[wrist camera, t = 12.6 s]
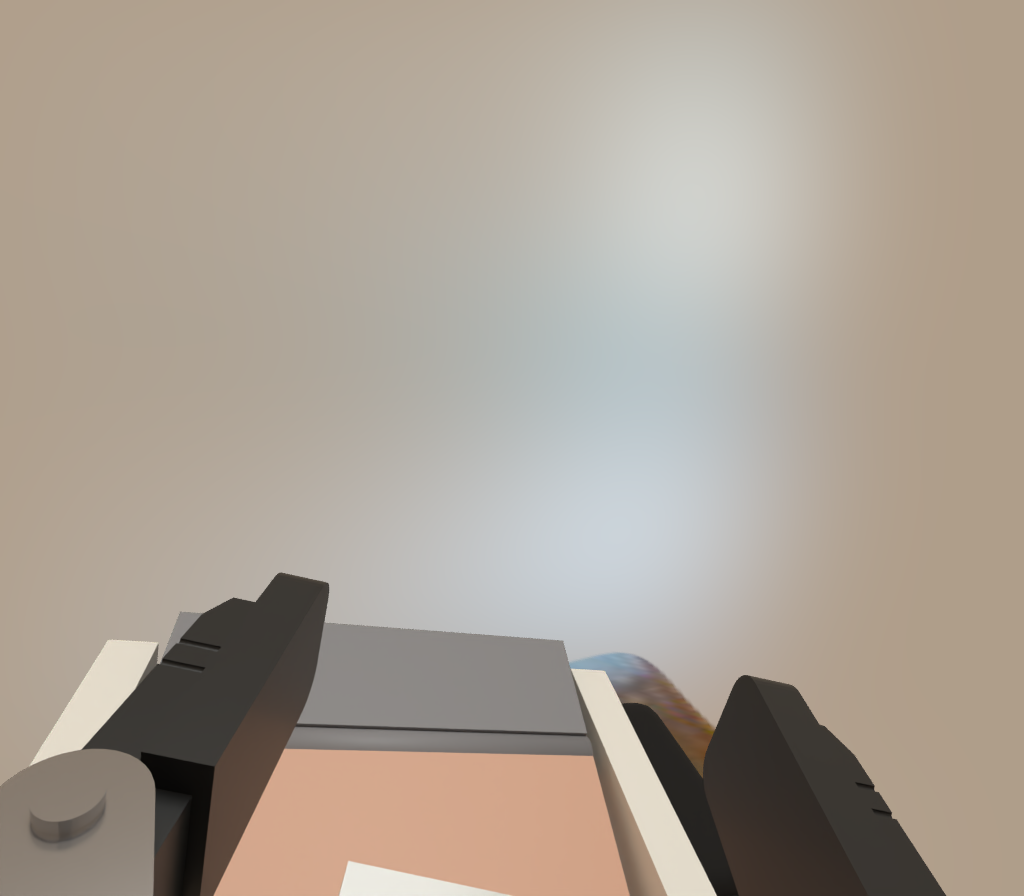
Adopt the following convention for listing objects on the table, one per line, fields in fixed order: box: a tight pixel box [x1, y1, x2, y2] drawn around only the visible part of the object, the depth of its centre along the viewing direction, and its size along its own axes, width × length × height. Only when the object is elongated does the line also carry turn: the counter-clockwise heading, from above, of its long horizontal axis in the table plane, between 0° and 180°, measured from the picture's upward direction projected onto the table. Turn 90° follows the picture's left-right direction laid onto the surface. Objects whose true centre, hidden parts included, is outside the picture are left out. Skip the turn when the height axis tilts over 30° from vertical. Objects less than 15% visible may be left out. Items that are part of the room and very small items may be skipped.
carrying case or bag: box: [622, 703, 739, 896], centre depth 39 cm, size 11×3×15 cm
